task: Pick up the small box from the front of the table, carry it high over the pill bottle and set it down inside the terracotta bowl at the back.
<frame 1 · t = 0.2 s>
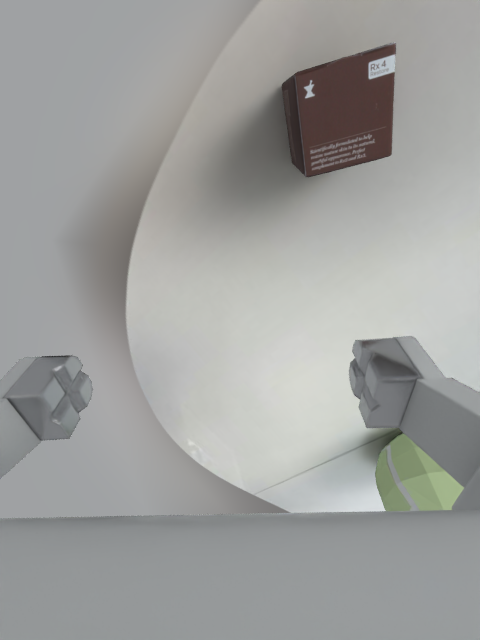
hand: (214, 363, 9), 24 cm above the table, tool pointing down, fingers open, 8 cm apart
green ball: (409, 438, 51), on the table
box: (321, 116, 25), on the table
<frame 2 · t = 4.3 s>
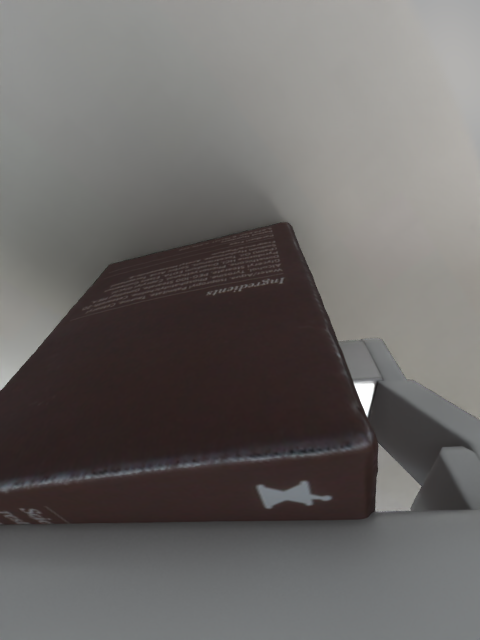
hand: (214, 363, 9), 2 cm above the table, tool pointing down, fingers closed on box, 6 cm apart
box: (221, 313, 11), on the table, touching gripper
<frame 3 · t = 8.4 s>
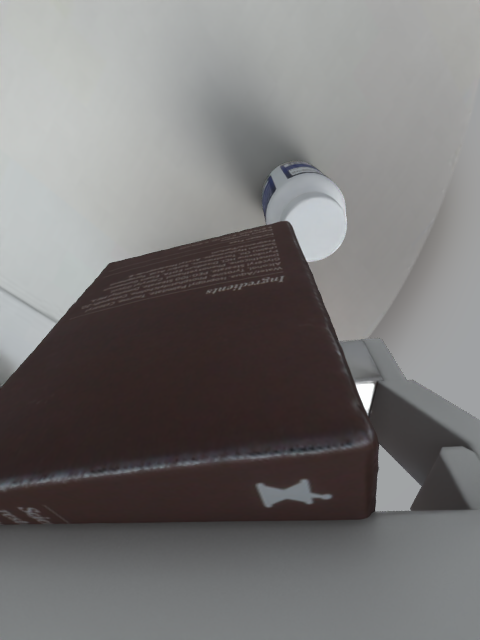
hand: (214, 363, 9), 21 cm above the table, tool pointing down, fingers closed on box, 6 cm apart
box: (221, 312, 11), point 18 cm above the table, touching gripper
pill bottle: (292, 194, 26), on the table
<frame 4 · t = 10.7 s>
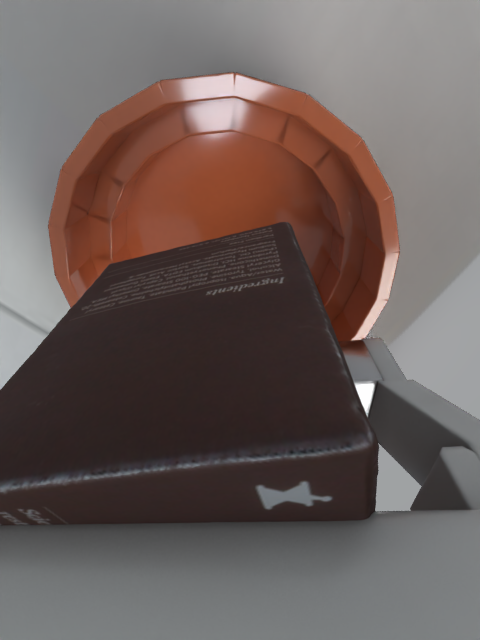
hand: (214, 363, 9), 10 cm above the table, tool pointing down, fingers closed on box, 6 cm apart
clay bowl: (229, 245, 17), on the table
box: (221, 313, 11), point 7 cm above the table, touching gripper
when the fingers open (3 cm above the table, at t = 12.9 s): box stays where it is, resting on clay bowl.
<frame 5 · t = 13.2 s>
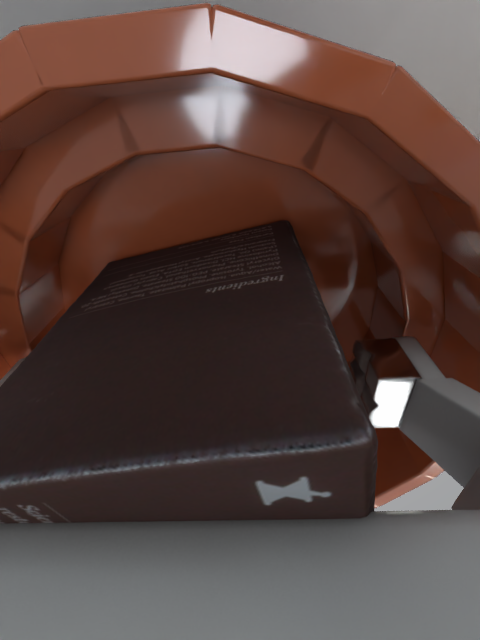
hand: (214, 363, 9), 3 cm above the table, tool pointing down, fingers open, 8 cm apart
clay bowl: (220, 308, 11), on the table
box: (221, 312, 11), resting on clay bowl
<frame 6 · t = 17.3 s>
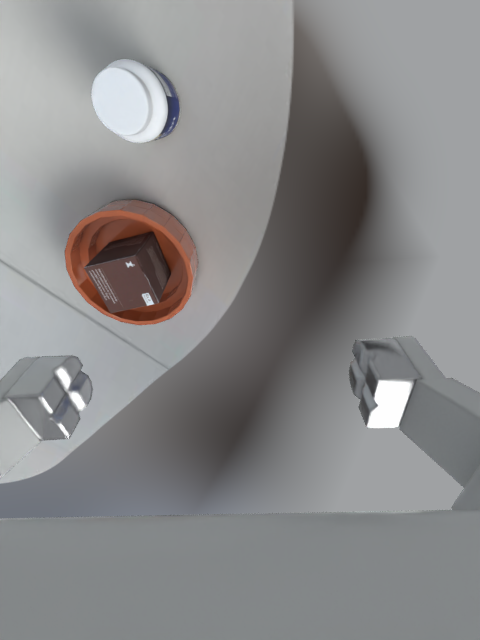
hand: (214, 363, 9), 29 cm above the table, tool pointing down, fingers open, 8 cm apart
clay bowl: (142, 257, 38), on the table
box: (142, 257, 38), resting on clay bowl
pill bottle: (154, 105, 29), on the table
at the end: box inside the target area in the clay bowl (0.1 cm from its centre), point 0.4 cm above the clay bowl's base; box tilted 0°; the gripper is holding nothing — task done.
